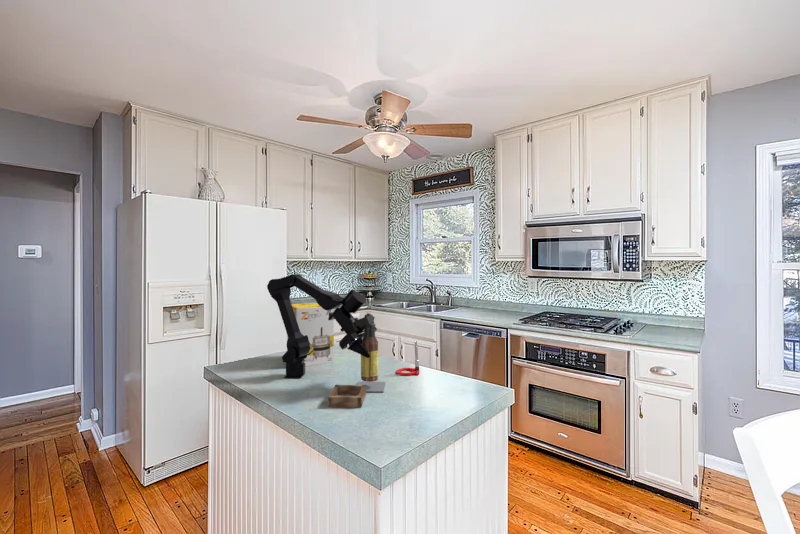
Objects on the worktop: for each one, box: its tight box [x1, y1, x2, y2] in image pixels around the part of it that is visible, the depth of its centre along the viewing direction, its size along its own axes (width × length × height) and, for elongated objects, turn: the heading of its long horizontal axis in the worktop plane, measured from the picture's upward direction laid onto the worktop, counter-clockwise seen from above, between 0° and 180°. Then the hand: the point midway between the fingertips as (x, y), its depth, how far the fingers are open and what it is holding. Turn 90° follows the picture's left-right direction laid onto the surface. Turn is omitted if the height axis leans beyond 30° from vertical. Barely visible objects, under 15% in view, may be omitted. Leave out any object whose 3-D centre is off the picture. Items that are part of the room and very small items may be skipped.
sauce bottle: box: [360, 322, 379, 382], centre depth 132 cm, size 6×6×20 cm
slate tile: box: [356, 380, 387, 394], centre depth 132 cm, size 10×10×1 cm
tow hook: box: [395, 340, 420, 377], centre depth 149 cm, size 8×13×9 cm
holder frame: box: [327, 384, 367, 408], centre depth 120 cm, size 10×11×3 cm
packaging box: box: [291, 302, 335, 368], centre depth 167 cm, size 16×16×25 cm
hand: (373, 355), depth 131 cm, fingers closed on sauce bottle, 6 cm apart
